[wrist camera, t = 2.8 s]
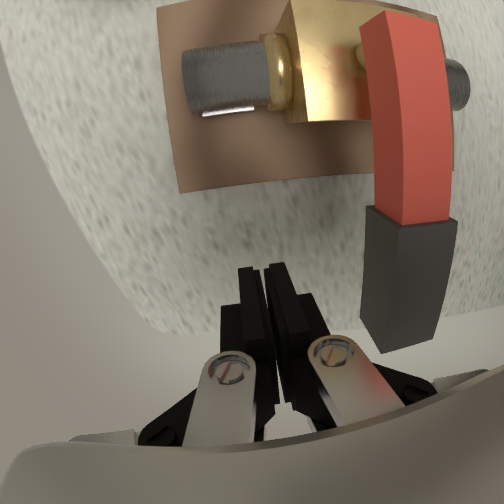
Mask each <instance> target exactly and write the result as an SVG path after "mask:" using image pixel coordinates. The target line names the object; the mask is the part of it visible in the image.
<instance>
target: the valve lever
mask: <svg viewBox="0 0 504 504" xmlns="http://www.w3.org/2000/svg"><path fill="white" fill-rule="evenodd" d="M359 31H360V36H361V41H362V42H360V43H359V45H358V46H357V49H356V56H357V59H358V61H359V63H360V64H361V66H362V67H363V68H364V69H366V73H367V80H368V88H369V97H370V107H371V118H372V132H373V149H374V181H375V205H371V206H366V224H365V253H364V271H363V285H362V297H361V308H360V319H361V320H362V322H363V324H364V325H365V327H366V329H367V330H368V332H369V334H370V336H371V337H372V339H373V341H374V343H375V344H376V346H377V348H378V350H379V351H380V353H381V354H383V353H387V352H391V351H394V350H398V349H401V348H405V347H408V346H412V345H415V344H418V343H421V342H424V341H427V340H431V339H433V336H434V333H435V330H436V326H437V323H438V320H439V316H440V312H441V309H442V305H443V301H444V297H445V292H446V288H447V284H448V279H449V274H450V269H451V264H452V258H453V253H454V246H455V240H456V233H457V225H458V221H456V220H454V219H452V218H450V217H449V210H450V197H451V179H452V131H451V113H450V100H449V91H448V82H447V75H446V68H445V62H444V56H443V50H442V45H441V40H440V36H439V31H438V27H437V23H435V22H431V21H428V20H425V19H421V18H417V17H414V16H410V15H406V14H402V13H397V12H393V11H388V10H384V11H382V12H381V13H379V14H377V15H376V16H374V17H373V18H372V19H370V20H369V21H367V22H366V23H364V24H363V25H361V26H360V27H359Z"/></svg>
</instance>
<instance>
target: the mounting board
mask: <svg viewBox="0 0 504 504" xmlns="http://www.w3.org/2000/svg"><path fill="white" fill-rule="evenodd" d="M288 1H289V0H190V1H185V2H180V3H175V4H171V5H166V6H162V7H158V8H156V9H157V24H158V36H159V48H160V58H161V68H162V77H163V86H164V94H165V102H166V109H167V117H168V124H169V131H170V138H171V144H172V151H173V157H174V163H175V169H176V175H177V181H178V186H179V192H180V194H182V193H188V192H194V191H200V190H207V189H213V188H220V187H227V186H235V185H242V184H250V183H258V182H267V181H276V180H285V179H295V178H305V177H316V176H329V175H342V174H358V173H374V149H373V132H372V121H324V122H302V123H287V124H284V117H283V110H277V111H268V110H267V108H266V105H258V106H254V110H253V111H252V112H247V113H239V114H231V115H223V116H216V117H210V118H204V117H203V116H202V113H199V114H192V113H191V112H190V109H189V106H188V103H187V99H186V95H185V90H184V84H183V77H182V65H181V56H182V51H184V50H189V49H194V48H200V47H206V46H212V45H219V44H227V43H236V42H246V41H258V40H259V35H260V34H269V33H274V32H275V30H276V27H277V25H278V23H279V21H280V18H281V16H282V14H283V12H284V10H285V7H286V5H287V3H288ZM342 1H350V2H357V3H364V4H370V5H376V6H381V7H386V8H391V9H395V10H400V11H404V12H408V13H412V14H416V15H417V17H418V18H421V19H425V20H428V21H431V22H435V23H437V27H438V31H439V36H440V40H441V45H442V50H443V56H444V58H446V56H445V50H444V45H443V40H442V36H441V31H440V27H439V23H438V19H437V16H434V15H431V14H428V13H425V12H421V11H418V10H414V9H411V8H407V7H403V6H399V5H394V4H390V3H385V2H380V1H375V0H342ZM450 113H451V131H452V171H454V130H453V112H452V110H450Z"/></svg>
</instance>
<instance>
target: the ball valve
mask: <svg viewBox="0 0 504 504" xmlns="http://www.w3.org/2000/svg"><path fill="white" fill-rule="evenodd" d="M384 10H388V11H393V12H397V13H402V14H406V15H410V16H414V17H417V15H416V14H412V13H408V12H404V11H400V10H395V9H391V8H386V7H381V6H376V5H370V4H364V3H357V2H350V1H342V0H289V1H288V3H287V5H286V7H285V10H284V12H283V14H282V16H281V18H280V21H279V23H278V25H277V27H276V30H275V32H274V33H269V34H260V35H259V40H258V41H246V42H236V43H227V44H219V45H212V46H206V47H200V48H194V49H189V50H184V51H182V56H181V65H182V77H183V84H184V90H185V95H186V99H187V103H188V106H189V109H190V112H191V113H192V114H199V113H202V116H203V117H204V118H210V117H216V116H223V115H231V114H239V113H247V112H252V111H253V110H254V106H258V105H266V108H267V110H268V111H277V110H283V117H284V124H287V123H302V122H324V121H372V118H371V107H370V97H369V88H368V80H367V73H366V69H364V68H363V67H362V66H361V64H360V63H359V61H358V59H357V56H356V49H357V46H358V45H359V43H360V42H362V41H361V36H360V31H359V27H360V26H361V25H363V24H364V23H366V22H367V21H369V20H370V19H372V18H373V17H374V16H376V15H377V14H379V13H381V12H382V11H384ZM417 18H418V17H417ZM444 62H445V68H446V75H447V82H448V91H449V100H450V110H452V111H459V110H461V109H462V108H464V107H465V105H466V104H467V102H468V100H469V96H470V81H469V77H468V74H467V72H466V70H465V69H464V67H463V66H462V65H461V64H460V63H459V62H457V61H455V60H451V59H448V58H444Z"/></svg>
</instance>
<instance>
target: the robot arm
mask: <svg viewBox="0 0 504 504" xmlns="http://www.w3.org/2000/svg"><path fill="white" fill-rule="evenodd" d="M238 276H239V289H240V302H241V303H239V304H232V305H224V306H221V325H220V353H219V354H216V355H214V356H213V357H211V358H210V359H209V360H208V361H207V362H206V363H205V365H204V367H203V369H202V373H201V376H200V380H199V384H198V387H197V388H196V389H195V390H193V391H192V392H191V393H190V394H188V395H187V396H186V397H184V398H183V399H182V400H180V401H179V402H178V403H176V404H175V405H174V406H172V407H171V408H170V409H168V410H167V411H166V412H164V413H163V414H162V415H160V416H159V417H157V418H156V419H155V420H153V421H152V422H150V423H149V424H148V425H147V426H146V427H145V428H143V430H142V431H140V432H135V431H134V429H131V430H124V431H117V432H109V433H101V434H90V435H80V436H76V437H74V438H72V439H71V440H69V441H67V442H51V443H46V444H40V445H36V446H32V447H29V448H27V449H25V450H23V451H21V452H20V453H18V455H17V456H16V457H15V458H14V459H13V461H12V462H11V464H10V466H9V468H8V469H7V472H6V474H5V476H4V478H3V481H2V484H1V486H0V504H504V365H502V366H499V367H496V368H494V369H491V370H487V369H481V370H476V371H471V372H467V373H462V374H458V375H452V376H447V377H442V378H436V379H434V380H433V382H432V383H430V382H428V381H426V380H424V379H422V378H419V377H415V376H412V375H409V374H406V373H403V372H399V371H396V370H393V369H390V368H387V367H384V366H381V365H378V364H375V363H372V362H371V361H370V360H369V359H368V357H367V356H366V355H365V354H364V352H363V351H362V350H361V348H360V347H359V346H358V345H357V343H355V342H354V341H353V340H352V339H350V338H348V337H345V336H341V335H331V334H330V332H329V330H328V328H327V325H326V323H325V321H324V319H323V317H322V315H321V313H320V310H319V308H318V306H317V304H316V302H315V300H314V298H313V296H312V294H311V293H306V294H300V295H297V294H296V291H295V289H294V286H293V283H292V281H291V278H290V276H289V273H288V271H287V268H286V266H285V263H284V262H281V263H274V264H269V268H266V269H264V278H265V287H266V296H267V304H266V299H265V294H264V290H263V285H262V281H261V276H260V271H259V270H253V266H252V267H245V268H238ZM267 305H268V308H267ZM276 361H277V365H276ZM277 366H278V371H279V376H280V381H281V386H282V390H283V395H284V400H285V403H287V402H291V403H292V408H293V410H296V411H298V412H300V413H302V414H304V415H306V418H307V422H308V424H309V426H310V428H311V431H312V433H309V434H304V435H299V436H294V437H288V438H282V439H275V440H268V441H266V423H267V422H268V421H269V420H270V419H271V418H272V417H273V416H274V415H275V406H274V405H275V404H280V398H279V387H278V376H277Z"/></svg>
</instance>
